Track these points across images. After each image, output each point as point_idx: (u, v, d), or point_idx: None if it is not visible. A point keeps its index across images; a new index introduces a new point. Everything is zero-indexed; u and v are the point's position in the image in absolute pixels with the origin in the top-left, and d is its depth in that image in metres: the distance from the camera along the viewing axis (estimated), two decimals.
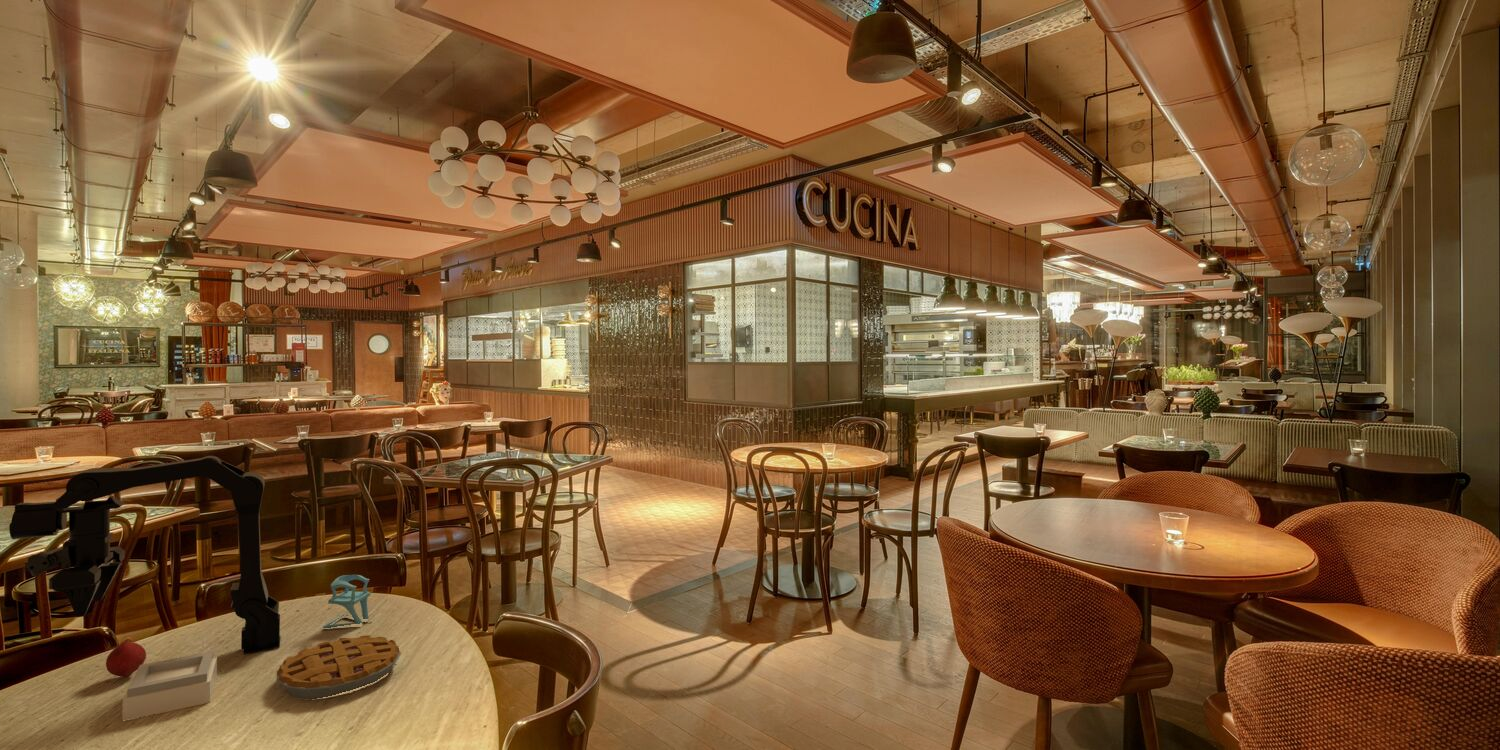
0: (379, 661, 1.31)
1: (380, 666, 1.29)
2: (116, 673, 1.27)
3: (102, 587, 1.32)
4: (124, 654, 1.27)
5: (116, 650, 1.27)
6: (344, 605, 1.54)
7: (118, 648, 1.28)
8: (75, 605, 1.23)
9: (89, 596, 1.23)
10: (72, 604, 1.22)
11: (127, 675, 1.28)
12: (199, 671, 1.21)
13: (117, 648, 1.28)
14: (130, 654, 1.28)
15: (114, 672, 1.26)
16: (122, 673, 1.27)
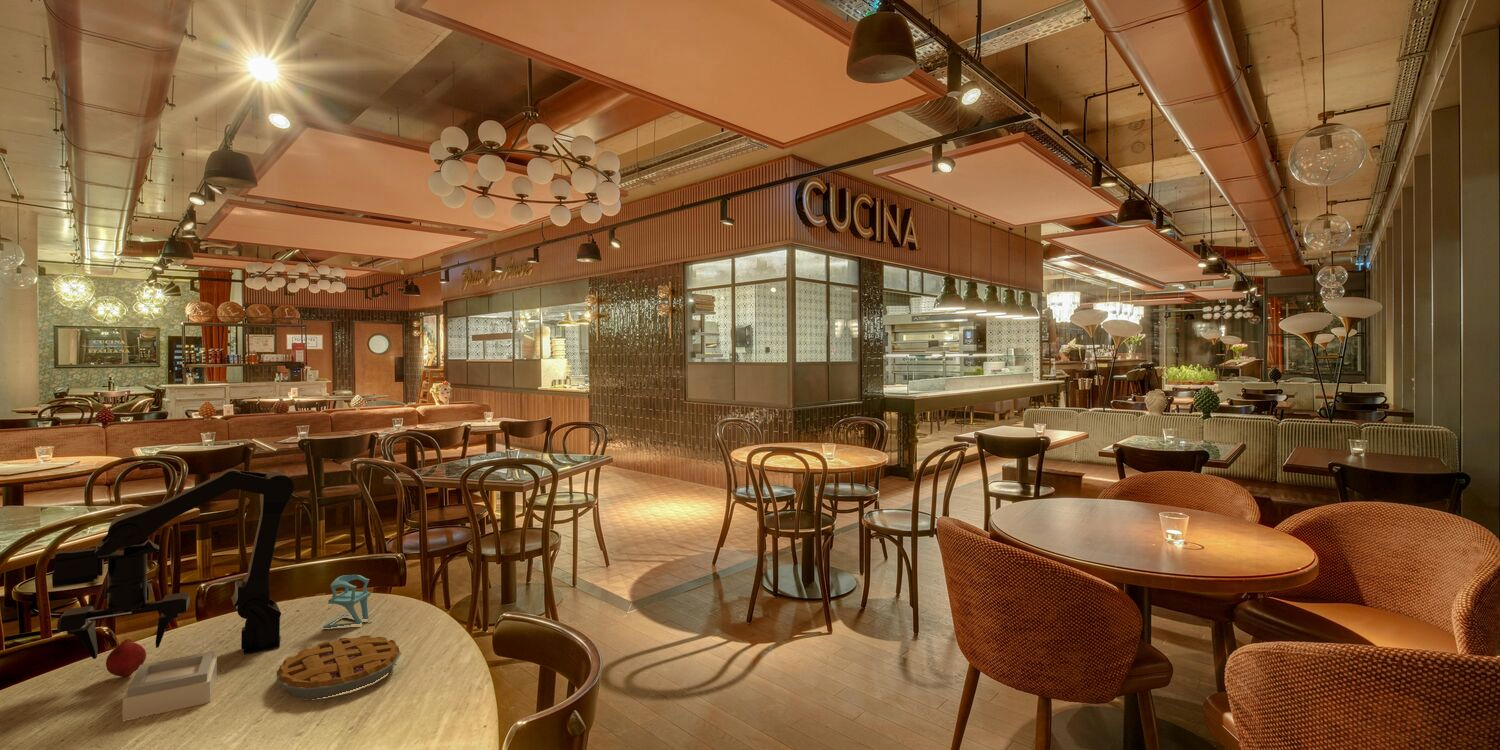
0: (379, 661, 1.31)
1: (380, 666, 1.29)
2: (116, 673, 1.27)
3: (156, 635, 1.31)
4: (124, 654, 1.27)
5: (116, 650, 1.27)
6: (344, 605, 1.54)
7: (118, 647, 1.28)
8: None
9: None
10: None
11: (127, 675, 1.28)
12: (199, 671, 1.21)
13: (117, 648, 1.28)
14: (130, 654, 1.28)
15: (114, 672, 1.26)
16: (122, 673, 1.27)
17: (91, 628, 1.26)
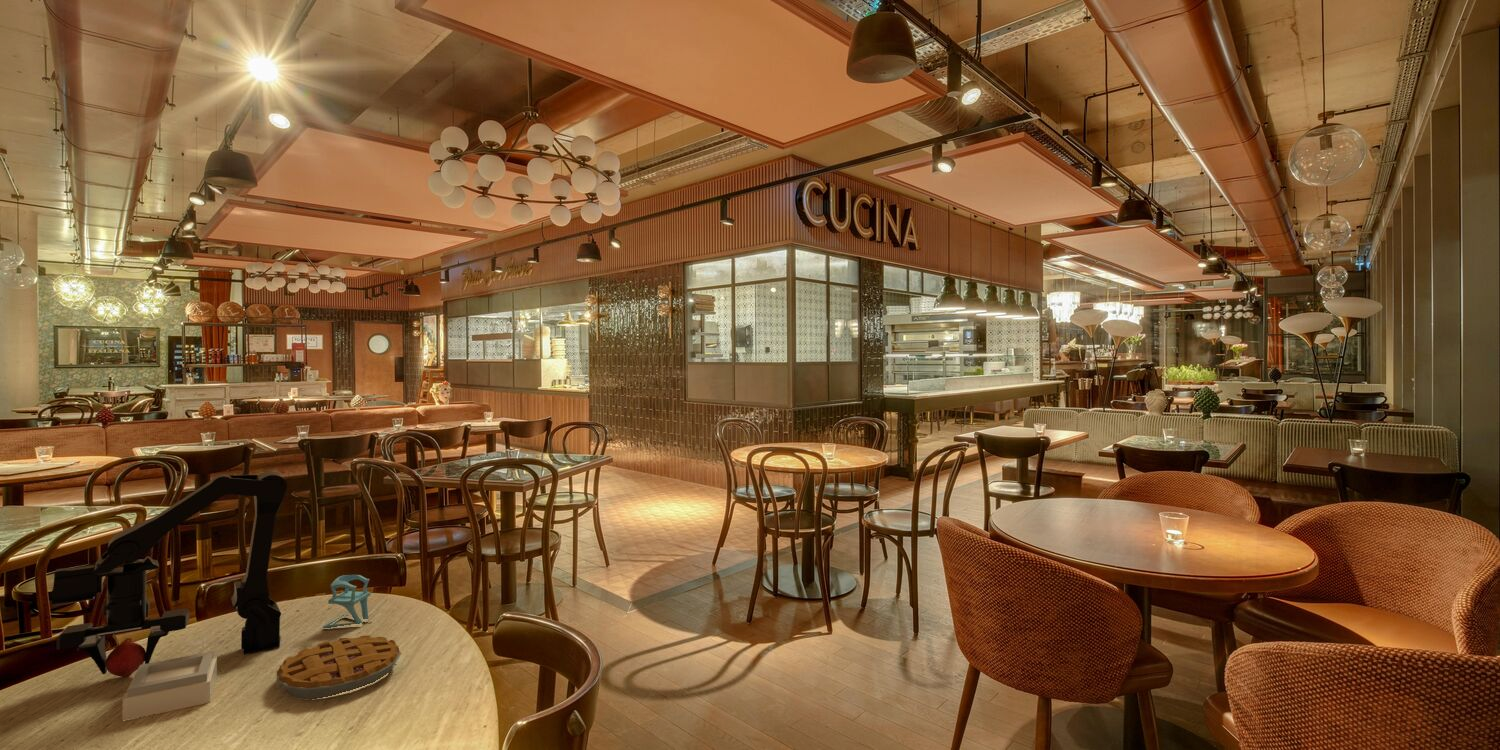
0: (379, 661, 1.31)
1: (380, 666, 1.29)
2: (116, 673, 1.27)
3: (146, 653, 1.30)
4: (124, 654, 1.27)
5: (116, 650, 1.27)
6: (344, 605, 1.54)
7: (118, 647, 1.28)
8: None
9: None
10: None
11: (127, 675, 1.28)
12: (199, 671, 1.21)
13: (117, 648, 1.28)
14: (130, 654, 1.28)
15: (114, 672, 1.26)
16: (122, 673, 1.27)
17: (101, 644, 1.26)
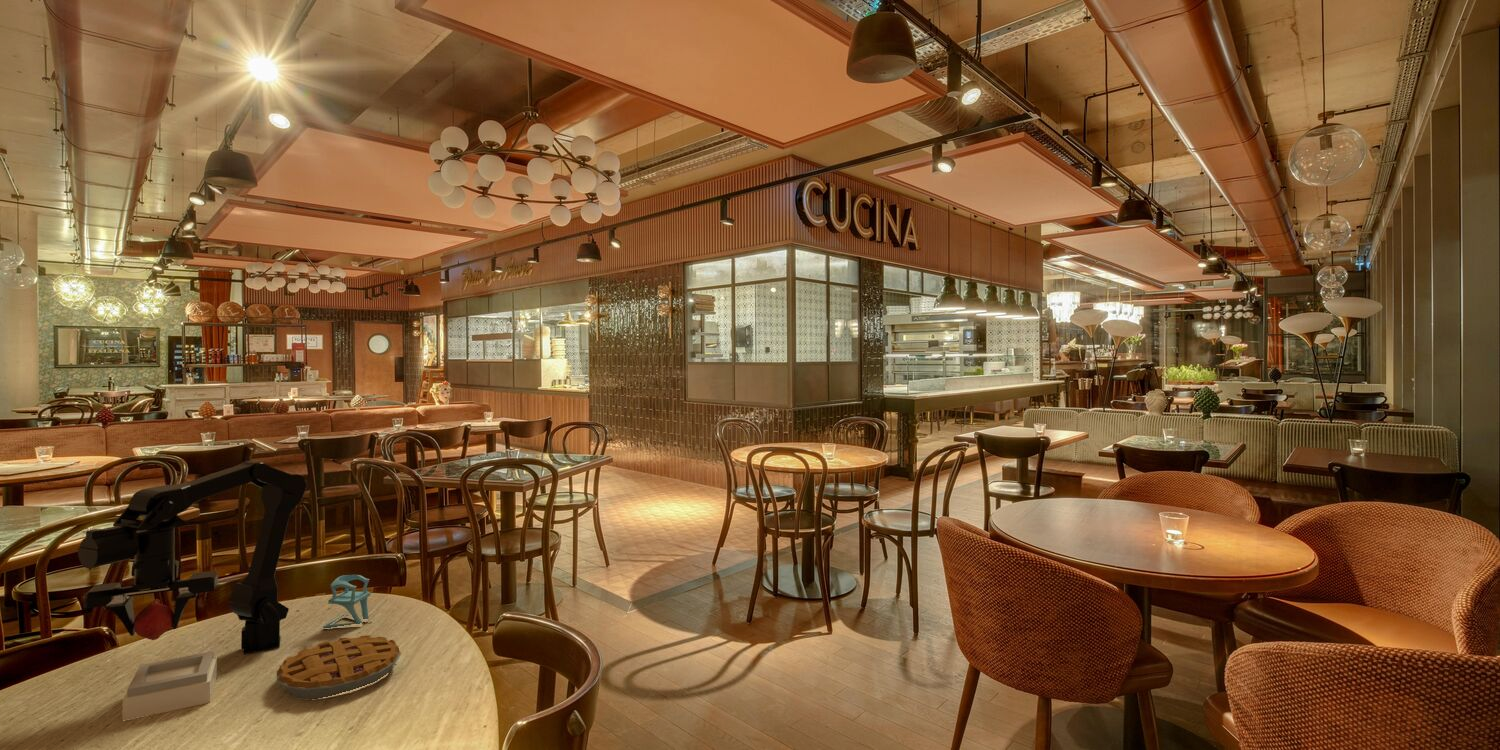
0: (379, 661, 1.31)
1: (380, 666, 1.29)
2: (144, 635, 1.22)
3: (174, 616, 1.26)
4: (152, 615, 1.23)
5: (144, 611, 1.23)
6: (344, 605, 1.54)
7: (146, 609, 1.23)
8: None
9: None
10: None
11: (155, 637, 1.24)
12: (199, 671, 1.21)
13: (145, 609, 1.23)
14: (158, 615, 1.23)
15: (142, 634, 1.22)
16: (150, 635, 1.23)
17: (129, 604, 1.22)
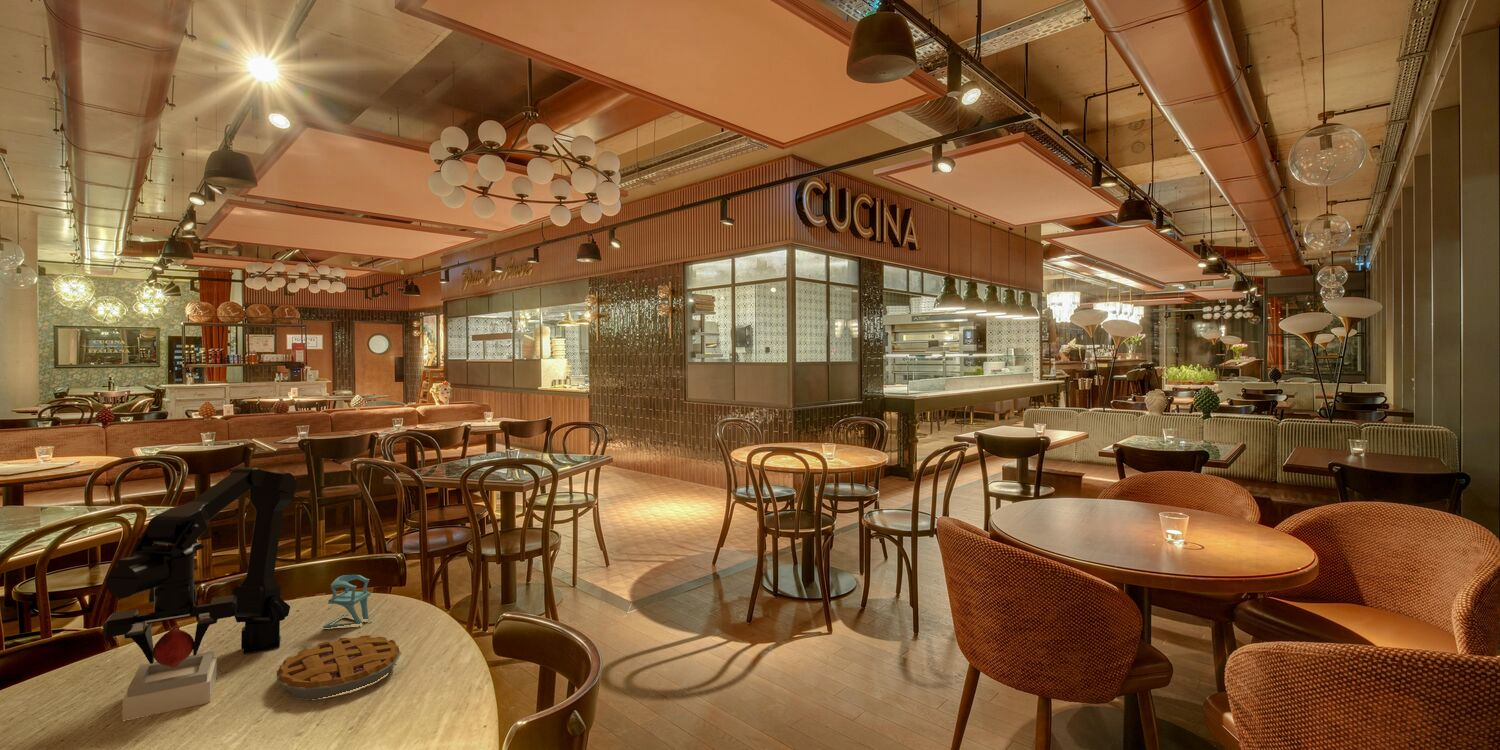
0: (379, 661, 1.31)
1: (380, 666, 1.29)
2: (164, 662, 1.20)
3: (194, 642, 1.23)
4: (172, 643, 1.20)
5: (164, 638, 1.20)
6: (344, 605, 1.54)
7: (166, 636, 1.21)
8: None
9: None
10: None
11: (175, 665, 1.21)
12: (199, 671, 1.21)
13: (165, 636, 1.21)
14: (179, 642, 1.21)
15: (162, 661, 1.19)
16: (170, 663, 1.20)
17: (148, 631, 1.19)
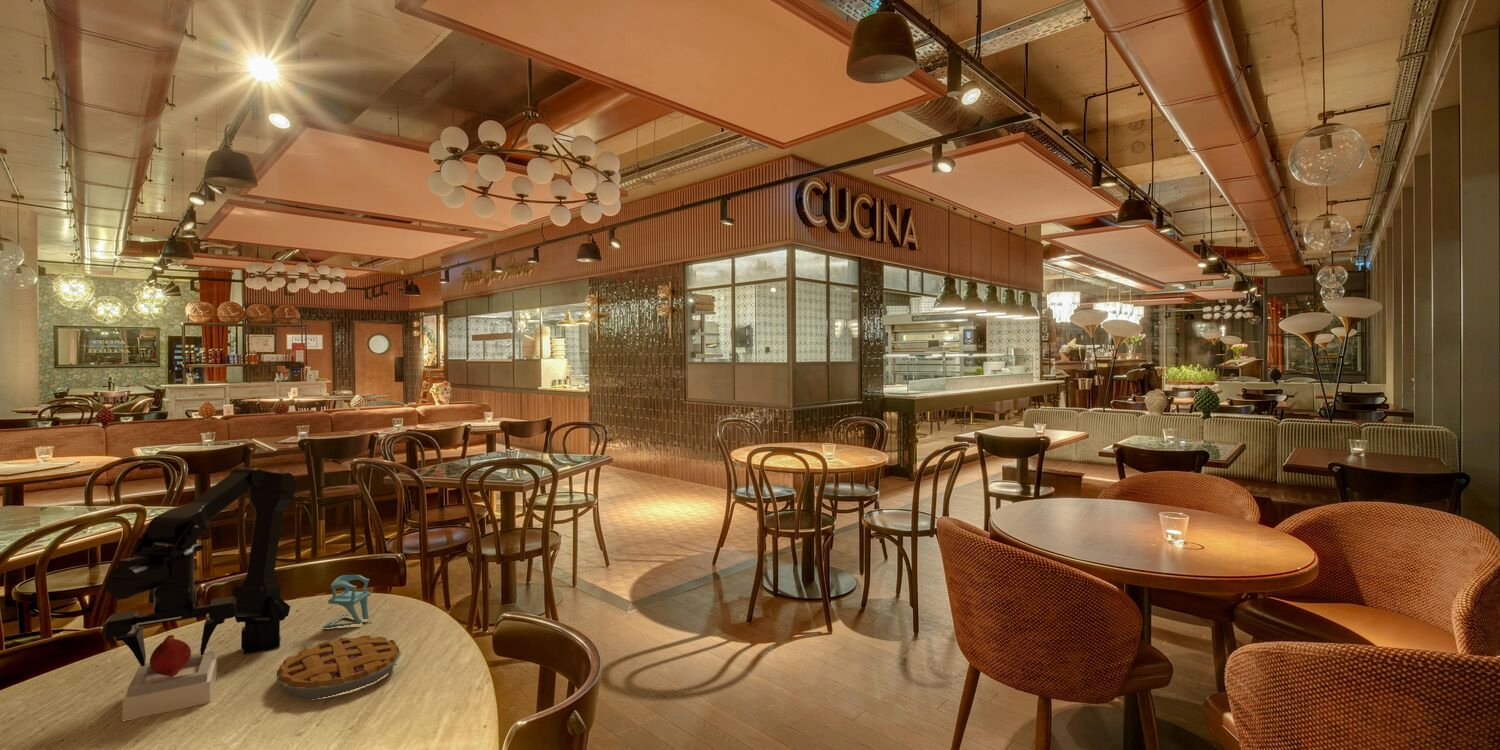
0: (379, 661, 1.31)
1: (380, 666, 1.29)
2: (162, 672, 1.20)
3: (201, 642, 1.24)
4: (168, 652, 1.20)
5: (159, 648, 1.20)
6: (344, 605, 1.54)
7: (161, 645, 1.20)
8: None
9: None
10: None
11: (174, 673, 1.21)
12: (199, 671, 1.21)
13: (160, 646, 1.20)
14: (175, 650, 1.21)
15: (160, 671, 1.19)
16: (168, 671, 1.20)
17: (139, 634, 1.19)
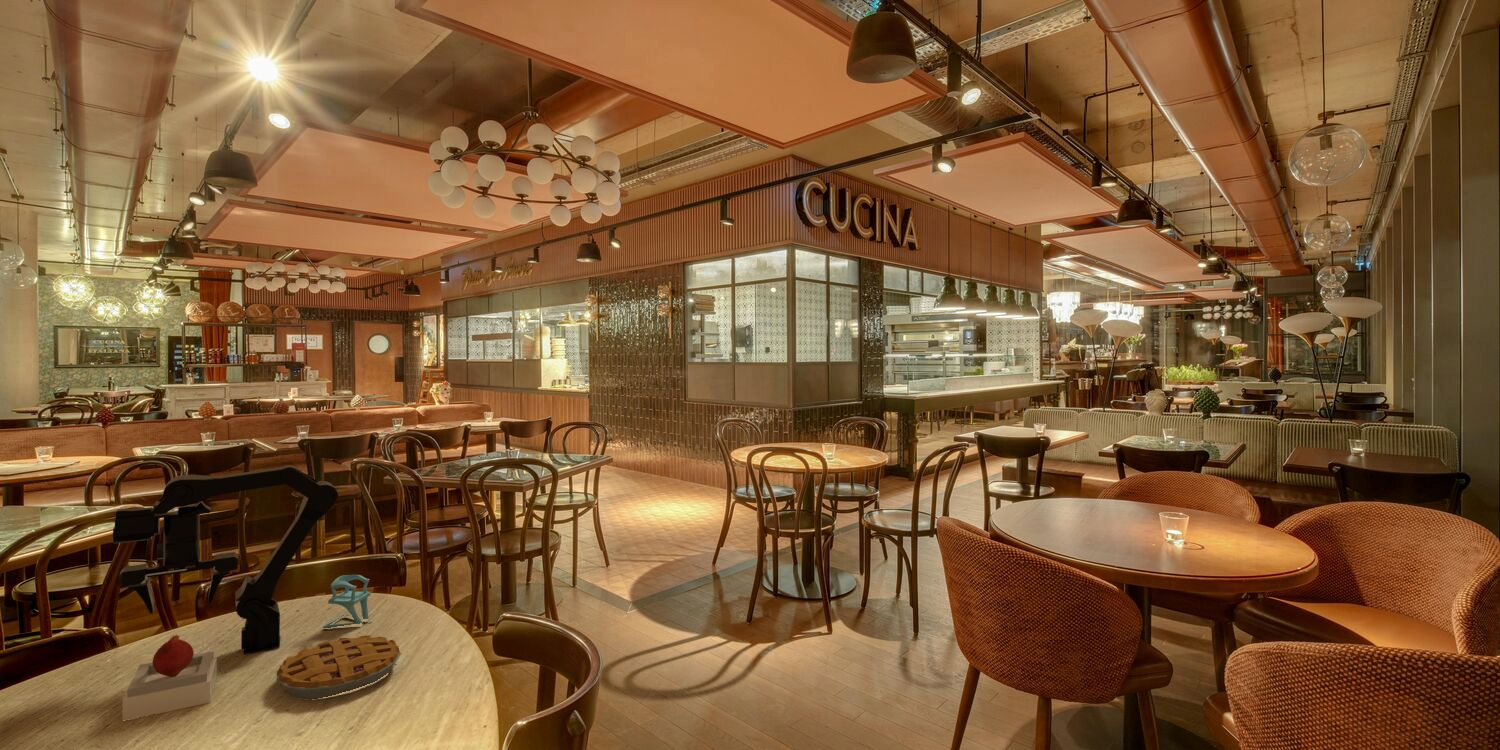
0: (379, 661, 1.31)
1: (380, 666, 1.29)
2: (164, 672, 1.20)
3: (209, 591, 1.37)
4: (172, 652, 1.20)
5: (163, 648, 1.20)
6: (344, 605, 1.54)
7: (166, 645, 1.21)
8: None
9: None
10: None
11: (174, 674, 1.21)
12: (199, 671, 1.21)
13: (164, 646, 1.21)
14: (179, 651, 1.21)
15: (162, 671, 1.19)
16: (170, 672, 1.20)
17: (148, 584, 1.31)
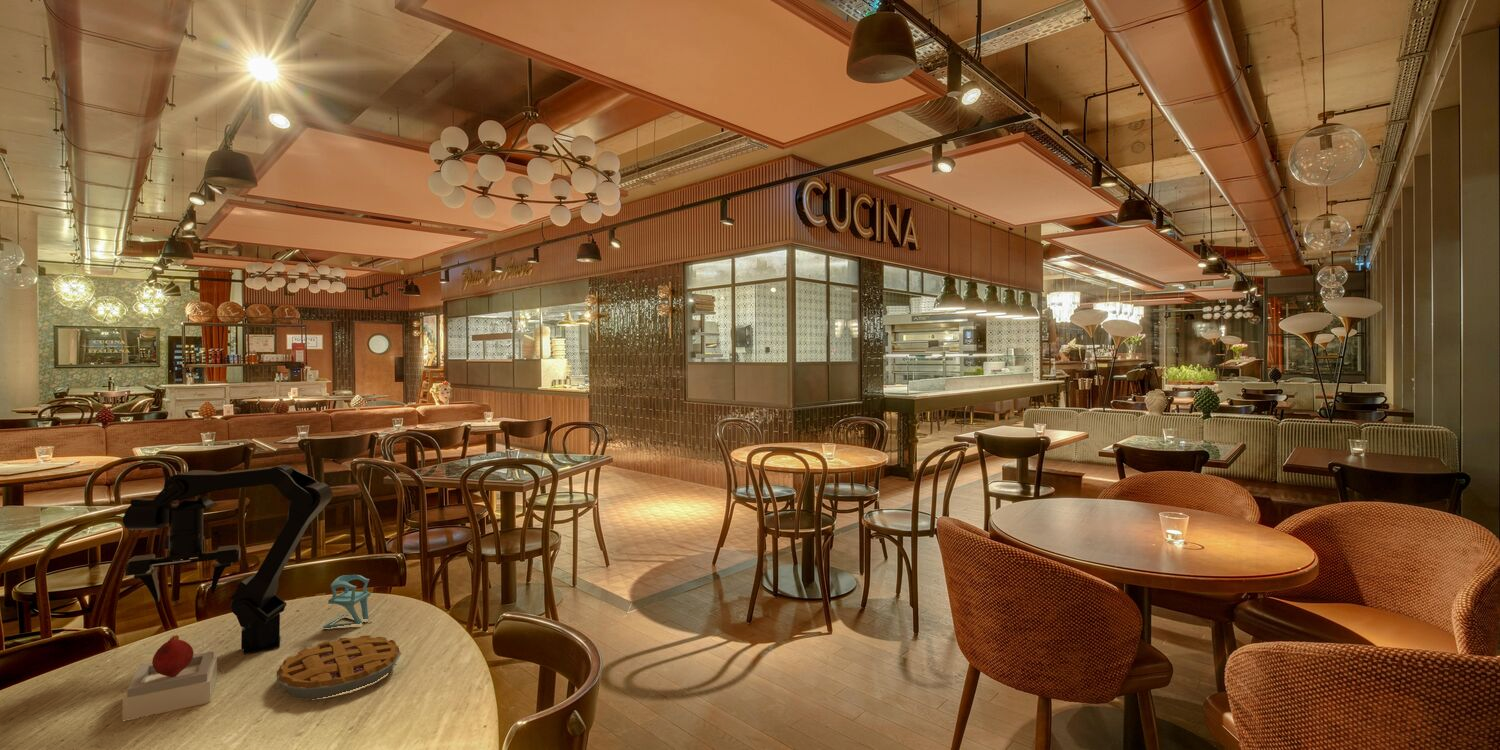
0: (379, 661, 1.31)
1: (380, 666, 1.29)
2: (163, 672, 1.20)
3: (212, 582, 1.43)
4: (172, 652, 1.20)
5: (163, 648, 1.20)
6: (344, 605, 1.54)
7: (166, 645, 1.21)
8: None
9: None
10: None
11: (174, 674, 1.21)
12: (199, 671, 1.21)
13: (164, 646, 1.21)
14: (178, 652, 1.21)
15: (162, 671, 1.19)
16: (170, 672, 1.20)
17: (154, 574, 1.37)
